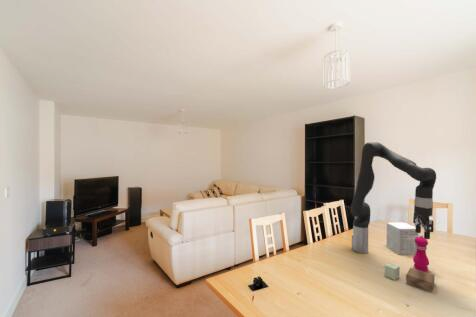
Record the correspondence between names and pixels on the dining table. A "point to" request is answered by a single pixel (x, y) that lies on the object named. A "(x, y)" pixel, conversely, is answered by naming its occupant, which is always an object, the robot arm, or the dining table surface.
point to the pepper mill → (421, 254)
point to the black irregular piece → (258, 284)
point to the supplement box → (401, 238)
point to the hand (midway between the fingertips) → (422, 235)
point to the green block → (392, 271)
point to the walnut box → (420, 279)
